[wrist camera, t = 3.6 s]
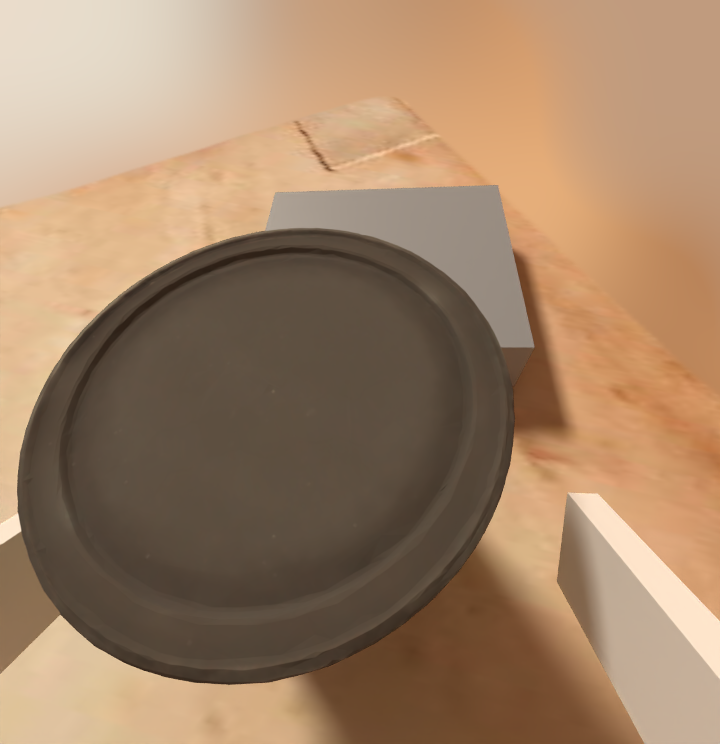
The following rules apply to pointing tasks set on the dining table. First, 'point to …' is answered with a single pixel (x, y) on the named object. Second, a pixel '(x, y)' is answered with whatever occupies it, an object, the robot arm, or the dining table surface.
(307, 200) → the riser
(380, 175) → the dining table surface
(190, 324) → the coffee can
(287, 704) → the dining table surface
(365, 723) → the dining table surface
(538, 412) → the dining table surface
